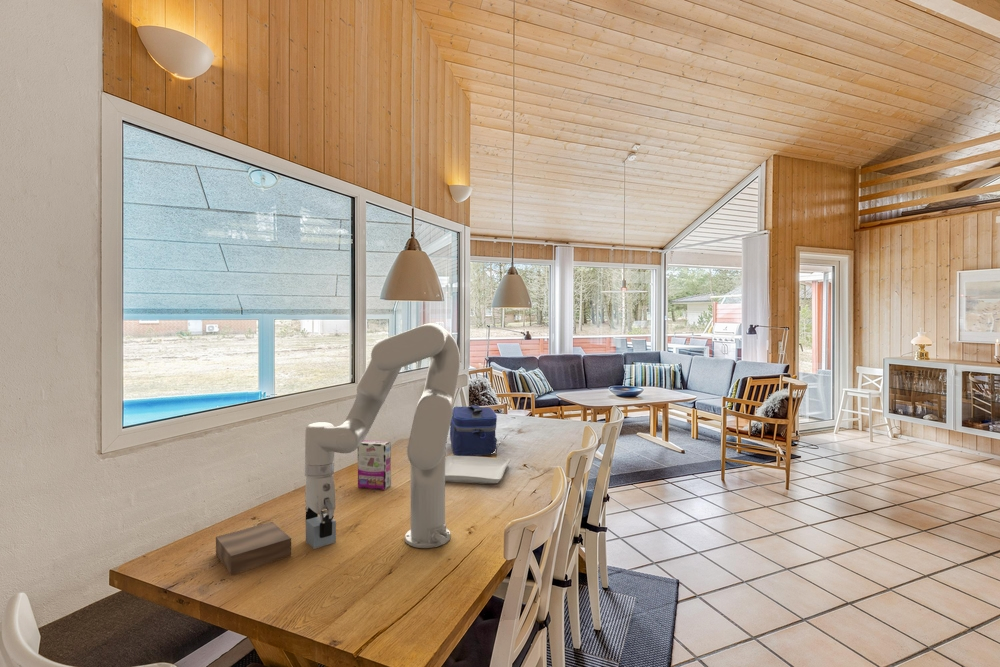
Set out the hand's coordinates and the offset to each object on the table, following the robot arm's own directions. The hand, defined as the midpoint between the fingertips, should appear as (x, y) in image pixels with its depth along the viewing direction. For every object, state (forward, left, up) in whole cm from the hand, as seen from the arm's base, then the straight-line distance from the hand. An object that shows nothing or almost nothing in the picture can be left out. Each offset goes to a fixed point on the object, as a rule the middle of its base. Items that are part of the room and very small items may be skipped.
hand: (318, 530), depth 134 cm
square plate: (+18, -68, -4) cm, 71 cm away
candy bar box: (+30, -32, -3) cm, 44 cm away
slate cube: (0, 0, -3) cm, 3 cm away
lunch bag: (+48, -93, -4) cm, 105 cm away
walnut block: (+4, +16, -4) cm, 16 cm away
